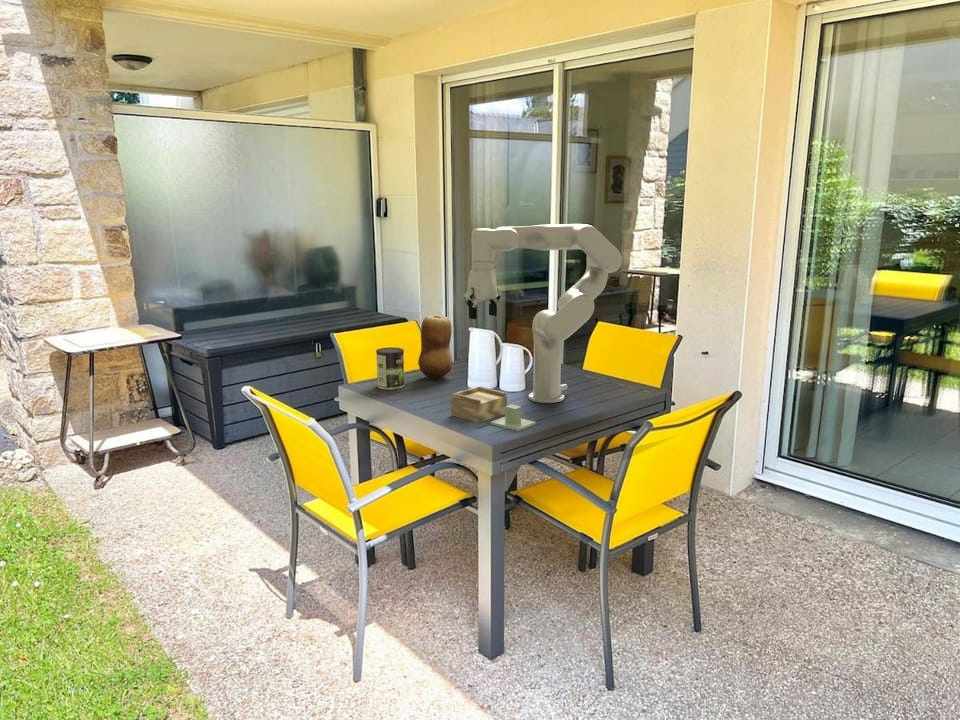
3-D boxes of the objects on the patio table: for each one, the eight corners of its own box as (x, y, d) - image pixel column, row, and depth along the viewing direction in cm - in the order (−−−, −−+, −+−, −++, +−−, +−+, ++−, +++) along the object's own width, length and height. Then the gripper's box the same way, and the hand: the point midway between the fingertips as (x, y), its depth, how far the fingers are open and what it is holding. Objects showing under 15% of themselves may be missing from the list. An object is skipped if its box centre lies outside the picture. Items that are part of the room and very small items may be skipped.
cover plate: (508, 418, 230) (508, 400, 228) (535, 425, 223) (535, 406, 221) (490, 425, 223) (490, 406, 221) (518, 432, 216) (518, 413, 214)
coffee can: (408, 383, 271) (407, 347, 268) (398, 390, 262) (397, 353, 258) (383, 382, 274) (382, 346, 271) (372, 388, 264) (371, 351, 261)
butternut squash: (451, 382, 273) (451, 318, 267) (417, 382, 273) (415, 318, 267) (453, 373, 286) (452, 312, 281) (420, 374, 286) (418, 313, 281)
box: (481, 406, 242) (481, 385, 240) (506, 413, 234) (507, 392, 232) (451, 414, 232) (450, 393, 230) (477, 422, 224) (477, 401, 222)
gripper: (492, 263, 243) (492, 313, 247) (456, 267, 231) (456, 318, 235) (508, 265, 238) (508, 315, 242) (472, 268, 226) (472, 321, 230)
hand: (483, 317), depth 238 cm, fingers open, 9 cm apart
